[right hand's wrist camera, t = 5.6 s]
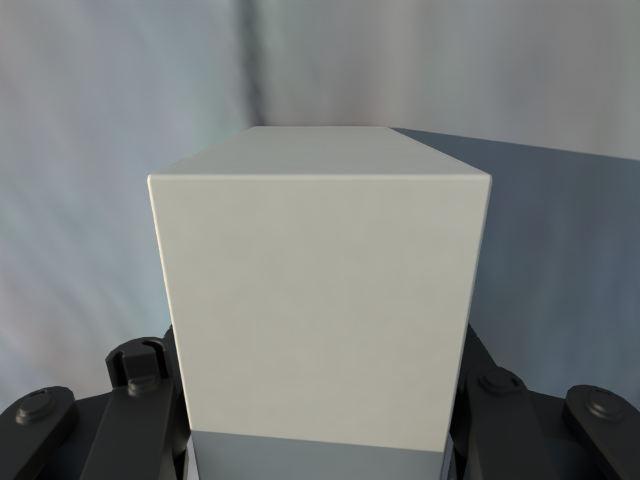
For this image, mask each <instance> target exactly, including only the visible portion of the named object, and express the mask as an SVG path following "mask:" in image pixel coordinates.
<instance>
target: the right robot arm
mask: <svg viewBox="0 0 640 480" xmlns="http://www.w3.org/2000/svg"><path fill="white" fill-rule="evenodd" d="M105 360H106V364H107V368H108V372H109V376H110V379H111V383H112V387H113V390H112V392H109V393H105V394H102V395H98V396H93V397H89V398H85V399H80V400H76V401H75V398H74V394H73V392H72V391H71V390H70V389H68V388H67V387H61V386H54V387H47V388H43V389H40V390H37V391H34V392H31V393H29V394H27V395H26V396H24V397H22V398H20V399H18V400H17V401H16V402H14V403H13V404H12V405H11V406H9V407H8V408H7V409H6V410H5V411H4V412H3V413H2V414H1V415H0V480H187V475H188V463H189V456H188V450H187V442H188V440H189V437H190V435H191V429H190V424H189V418H188V412H187V406H186V401H185V395H184V389H183V383H182V378H181V372H180V366H179V360H178V355H177V349H176V343H175V337H174V332H173V326H172V324H171V326H170V329H168V330H167V332H166V334H165V335H164V338H162V339H161V338H157V337H142V338H138V339H134V340H130V341H128V342H126V343H124V344H121V345H120V346H118V347H117V348H115V349H114V350H113V351H111V352H110V354H109V355H108V356H107V358H106V359H105ZM449 432H450V435H451V437H452V440H453V443H454V444H453V449H452V455H451V460H450V466H449V471H448V478H447V480H452V478H453V480H640V412H639V411H638V410H637V409H636V408H635V407H633V406H632V405H631V404H630V403H628V402H627V401H626V400H625V399H623V398H622V397H620V396H618V395H616V394H614V393H612V392H611V391H608V390H605V389H602V388H599V387H596V386H590V385H577V386H573V387H572V388H571V389H569V390H568V392H567V395H566V399H562V398H558V397H553V396H549V395H545V394H540V393H537V392H533V391H530V390H528V389H527V387H526V386H525V384H524V383H523V381H522V380H521V379H520V378H519V377H517V376H516V375H515V374H514V373H512V372H510V371H508V370H506V369H504V368H502V367H498V366H497V365H496V364H495V362H494V361H493V359H492V358H491V356H490V354H489V353H488V351H487V350H486V348H485V347H484V345H483V344H482V342H481V341H480V339H479V338H478V337H477V335H476V333H475V332H474V330H473V329H472V328H471V325H470V324H469V322H468V326H467V332H466V337H465V343H464V349H463V355H462V360H461V366H460V372H459V378H458V384H457V389H456V395H455V401H454V407H453V412H452V418H451V424H450V430H449Z"/></svg>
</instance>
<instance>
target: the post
mask: <svg viewBox="0 0 640 480" xmlns="http://www.w3.org/2000/svg"><path fill="white" fill-rule="evenodd" d="M492 181H493V179H492V175H490V174H488V173H486V172H483V171H481V170H479V169H477V168H475V167H473V166H470V165H468V164H466V163H464V162H462V161H460V160H457V159H455V158H453V157H451V156H449V155H447V154H444V153H442V152H440V151H438V150H436V149H434V148H431V147H429V146H427V145H425V144H423V143H421V142H418V141H416V140H414V139H412V138H410V137H407V136H405V135H403V134H401V133H399V132H397V131H394V130H392V129H390V128H388V127H386V126H255V127H252V128H250V129H248V130H246V131H244V132H241V133H239V134H237V135H235V136H233V137H231V138H228V139H226V140H224V141H222V142H220V143H218V144H215V145H213V146H211V147H209V148H207V149H204V150H202V151H200V152H198V153H196V154H194V155H191V156H189V157H187V158H185V159H183V160H181V161H178V162H176V163H174V164H172V165H170V166H168V167H165V168H163V169H161V170H159V171H157V172H155V173H152V174H150V175H148V179H147V182H148V188H149V193H150V199H151V205H152V211H153V216H154V222H155V228H156V234H157V239H158V245H159V251H160V257H161V262H162V268H163V274H164V280H165V285H166V291H167V297H168V303H169V308H170V314H171V320H172V326H173V332H174V337H175V343H176V349H177V355H178V360H179V366H180V372H181V378H182V383H183V389H184V395H185V401H186V406H187V412H188V418H189V424H190V429H191V435H192V441H193V447H194V452H195V458H196V464H197V470H198V475H199V480H441V476H442V470H443V464H444V459H445V453H446V447H447V441H448V436H449V430H450V424H451V418H452V412H453V407H454V401H455V395H456V389H457V384H458V378H459V372H460V366H461V360H462V355H463V349H464V343H465V337H466V332H467V326H468V320H469V314H470V308H471V303H472V297H473V291H474V285H475V280H476V274H477V268H478V262H479V256H480V251H481V245H482V239H483V233H484V228H485V222H486V216H487V210H488V204H489V199H490V193H491V187H492Z"/></svg>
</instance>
